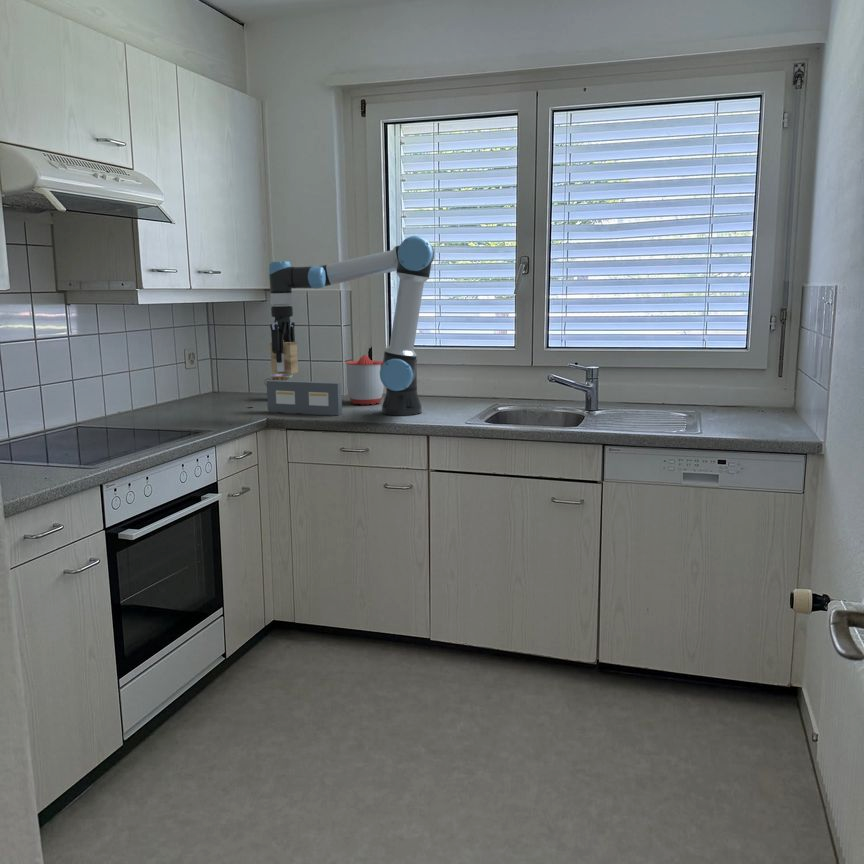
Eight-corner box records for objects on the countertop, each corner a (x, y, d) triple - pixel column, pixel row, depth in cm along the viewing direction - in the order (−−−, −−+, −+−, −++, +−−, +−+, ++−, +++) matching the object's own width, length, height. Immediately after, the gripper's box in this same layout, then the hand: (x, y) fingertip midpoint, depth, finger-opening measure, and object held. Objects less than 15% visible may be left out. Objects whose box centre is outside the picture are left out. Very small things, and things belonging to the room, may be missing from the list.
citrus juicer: (385, 406, 311) (384, 356, 308) (342, 406, 313) (341, 356, 310) (392, 400, 327) (391, 353, 323) (351, 400, 329) (350, 352, 325)
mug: (295, 398, 336) (294, 373, 334) (292, 401, 327) (291, 376, 325) (267, 398, 335) (266, 374, 333) (263, 401, 326) (262, 376, 324)
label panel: (342, 414, 293) (341, 382, 291) (338, 415, 290) (337, 383, 287) (272, 410, 303) (270, 380, 300) (267, 412, 299) (265, 381, 297)
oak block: (298, 372, 283) (296, 342, 281) (291, 373, 279) (289, 343, 277) (278, 371, 286) (277, 341, 284) (271, 373, 281) (270, 342, 279)
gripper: (285, 304, 288) (288, 367, 292) (258, 306, 271) (262, 373, 275) (303, 304, 285) (306, 368, 289) (278, 306, 268) (281, 373, 273)
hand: (284, 370), depth 282 cm, fingers closed on oak block, 5 cm apart
